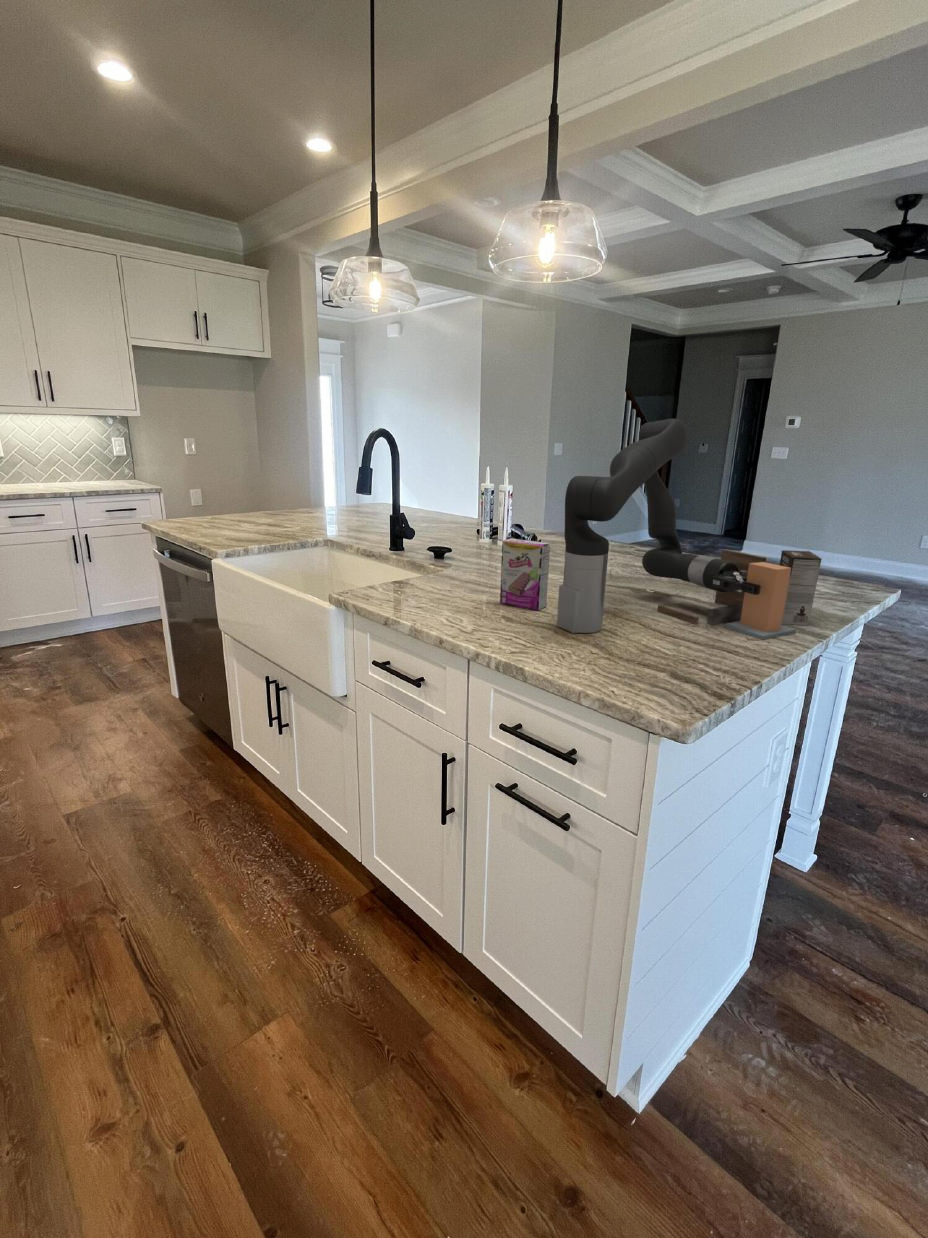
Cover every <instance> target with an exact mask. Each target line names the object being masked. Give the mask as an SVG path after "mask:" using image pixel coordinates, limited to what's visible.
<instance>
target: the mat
mask: <svg viewBox="0 0 928 1238" xmlns="http://www.w3.org/2000/svg"><path fill="white" fill-rule="evenodd" d="M723 627H724V628H727V629H728V630H729V629H730V630H732V631H736V632H739V633H742V634H745V635H748V636H750V637H754V638H756V637H757V639H760V640H762V639H764V640H767V639H772V638H771V637H773V638H778V637H782V636H783V637H784V636H787V635H786V634H788V635H793V634H796V633H797V629H795V628H792V627H789V626H786V625H783V624H781V629H780V630H776V631H770V632H765V631H762V630H758V629H755V628H752V627H749V626H746V625H743V624H740V620H736V621H731V622H725V623H724V626H723ZM792 633H793V634H792ZM777 636H778V637H777Z"/></svg>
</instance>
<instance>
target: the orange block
mask: <svg viewBox="0 0 928 1238" xmlns="http://www.w3.org/2000/svg"><path fill="white" fill-rule="evenodd" d="M790 572H791V568H789V567H785V566H780V564H775V563H769V562H767V561H766V562H758V563H749V568H748V575H747V581H746V582H750V583H754V584H758V585H760V586H761V588H760V593H759V594H758V595H754V594H750V593H747V592H745V594H744V601H743V607H742V614H741V620H739V621H740V624H743V625H746V626H749V627H752V628H755V629H758V630H762V631H765V632H770V631H776V630H780V629H781V625H782V624H781V623H782V618H783V612H784V606H785V600H786V595H787V589H788V583H789V578H790Z"/></svg>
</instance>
